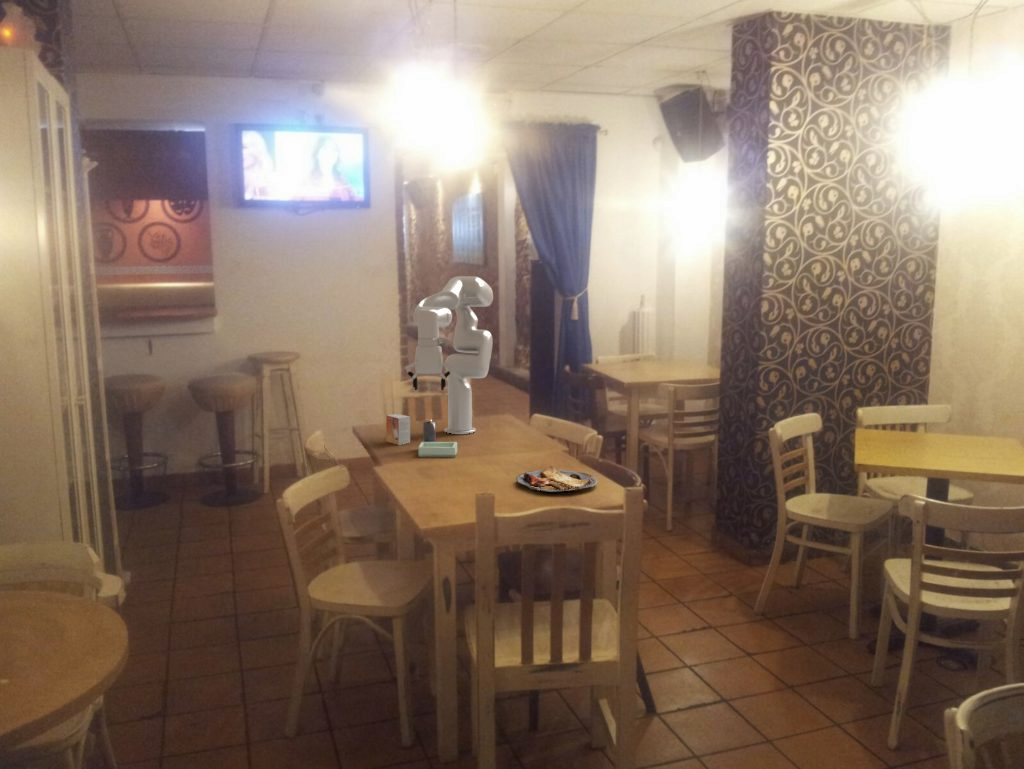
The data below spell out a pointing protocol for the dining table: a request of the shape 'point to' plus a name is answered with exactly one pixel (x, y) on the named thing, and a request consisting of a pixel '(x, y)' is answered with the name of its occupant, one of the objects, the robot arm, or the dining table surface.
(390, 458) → the dining table surface
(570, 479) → the food plate
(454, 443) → the trough
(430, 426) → the cylinder
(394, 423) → the small box
